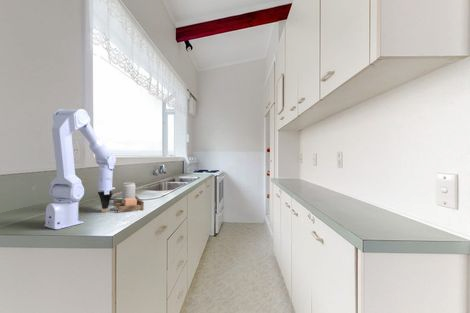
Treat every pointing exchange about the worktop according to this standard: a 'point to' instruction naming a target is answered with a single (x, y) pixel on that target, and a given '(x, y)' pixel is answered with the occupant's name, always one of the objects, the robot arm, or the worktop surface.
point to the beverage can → (128, 190)
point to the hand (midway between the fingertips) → (104, 207)
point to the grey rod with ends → (126, 203)
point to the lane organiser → (128, 208)
